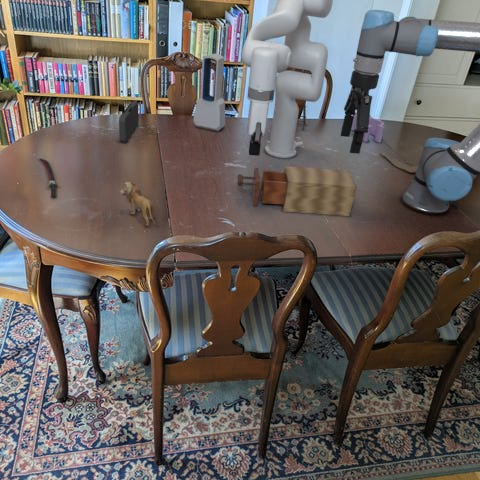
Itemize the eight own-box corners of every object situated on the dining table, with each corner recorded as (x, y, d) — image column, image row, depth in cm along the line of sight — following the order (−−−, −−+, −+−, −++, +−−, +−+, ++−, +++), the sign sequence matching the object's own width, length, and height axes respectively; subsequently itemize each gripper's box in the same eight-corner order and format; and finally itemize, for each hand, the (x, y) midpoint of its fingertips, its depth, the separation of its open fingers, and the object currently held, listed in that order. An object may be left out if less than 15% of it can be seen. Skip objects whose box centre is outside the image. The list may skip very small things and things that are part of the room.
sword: (61, 197, 141) (61, 193, 140) (50, 198, 139) (50, 194, 139) (49, 160, 164) (48, 156, 163) (39, 160, 163) (39, 157, 162)
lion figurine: (118, 210, 138) (116, 182, 133) (132, 204, 141) (131, 177, 137) (151, 229, 130) (150, 201, 126) (165, 223, 134) (165, 195, 129)
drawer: (236, 204, 146) (238, 179, 141) (235, 189, 154) (238, 166, 150) (315, 209, 148) (320, 185, 143) (310, 194, 156) (315, 172, 151)
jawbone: (419, 178, 180) (420, 173, 178) (370, 161, 190) (371, 157, 189) (428, 170, 185) (429, 165, 184) (380, 154, 196) (381, 150, 195)
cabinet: (283, 211, 147) (288, 181, 141) (280, 194, 156) (284, 165, 151) (349, 216, 148) (356, 186, 143) (342, 199, 158) (349, 170, 152)
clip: (343, 126, 223) (346, 112, 219) (367, 127, 225) (371, 113, 221) (360, 142, 206) (364, 127, 202) (386, 142, 209) (390, 127, 205)
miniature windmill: (304, 130, 212) (315, 61, 196) (285, 127, 213) (296, 59, 197) (305, 124, 220) (317, 57, 204) (288, 121, 221) (298, 55, 205)
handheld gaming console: (132, 123, 200) (131, 100, 194) (138, 124, 200) (138, 100, 194) (118, 143, 180) (117, 117, 175) (125, 143, 180) (124, 118, 175)
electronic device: (225, 127, 206) (230, 56, 190) (219, 132, 200) (224, 59, 184) (199, 122, 209) (202, 51, 193) (192, 127, 203) (195, 54, 187)
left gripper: (247, 85, 139) (241, 144, 148) (248, 100, 126) (242, 163, 136) (272, 88, 139) (264, 146, 149) (276, 103, 126) (267, 165, 136)
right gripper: (343, 60, 140) (330, 128, 151) (363, 82, 119) (345, 159, 130) (368, 63, 140) (352, 130, 152) (392, 84, 119) (372, 161, 131)
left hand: (253, 154), depth 142 cm, fingers closed
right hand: (349, 144), depth 141 cm, fingers open, 13 cm apart
